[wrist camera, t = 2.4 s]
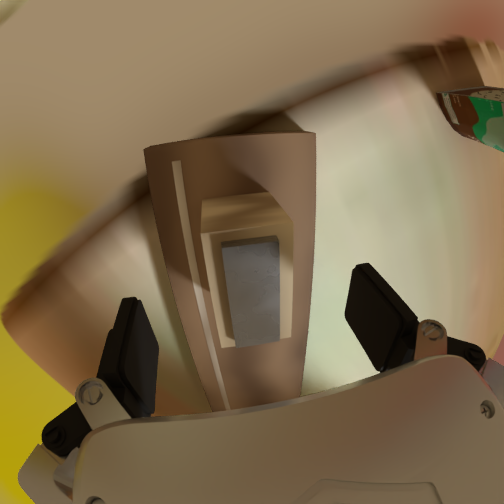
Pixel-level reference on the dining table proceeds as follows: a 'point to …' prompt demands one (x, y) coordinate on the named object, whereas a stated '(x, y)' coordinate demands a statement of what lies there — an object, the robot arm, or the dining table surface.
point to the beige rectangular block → (249, 267)
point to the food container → (476, 113)
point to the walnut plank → (193, 262)
